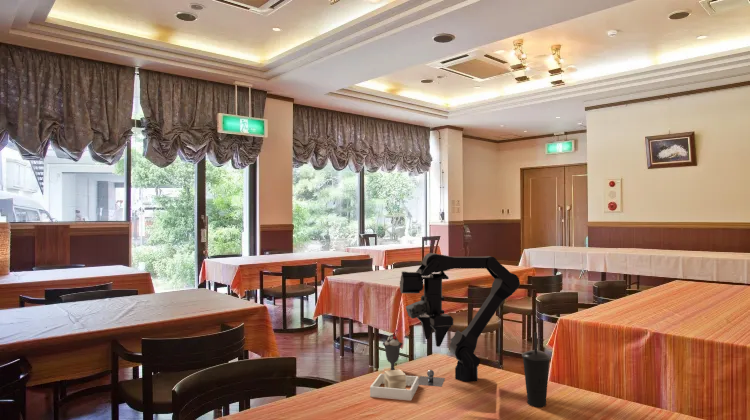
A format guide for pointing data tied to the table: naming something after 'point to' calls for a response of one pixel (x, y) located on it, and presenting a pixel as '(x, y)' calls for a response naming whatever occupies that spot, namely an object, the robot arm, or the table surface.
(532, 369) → the drinking cup
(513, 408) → the table surface
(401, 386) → the socket block
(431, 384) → the stud plate
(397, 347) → the sundae
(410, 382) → the bin
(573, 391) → the table surface
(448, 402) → the table surface
